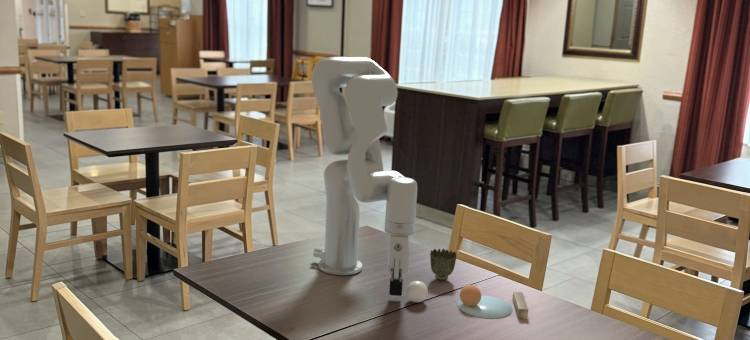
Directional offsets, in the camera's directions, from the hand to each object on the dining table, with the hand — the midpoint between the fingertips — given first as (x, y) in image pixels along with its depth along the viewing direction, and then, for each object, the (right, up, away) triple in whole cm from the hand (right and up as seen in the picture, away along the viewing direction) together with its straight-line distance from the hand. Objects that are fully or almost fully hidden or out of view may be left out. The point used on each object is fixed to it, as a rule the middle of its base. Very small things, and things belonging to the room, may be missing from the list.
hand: (395, 294), depth 178 cm
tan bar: (+32, -4, -2) cm, 32 cm away
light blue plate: (+23, -3, -1) cm, 23 cm away
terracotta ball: (+19, 0, -1) cm, 19 cm away
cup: (+13, +1, +16) cm, 21 cm away
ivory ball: (+6, +1, -1) cm, 6 cm away
